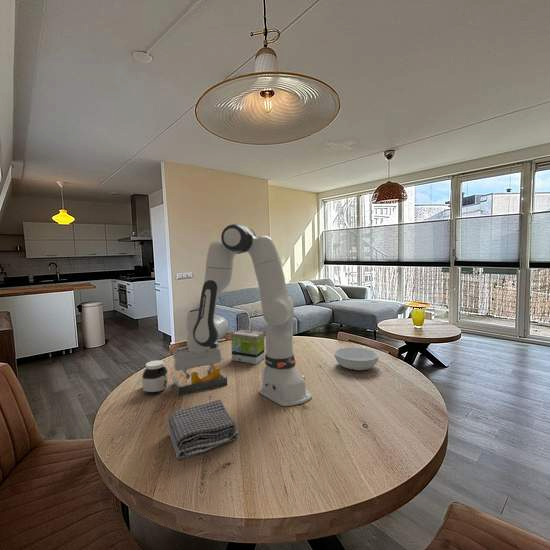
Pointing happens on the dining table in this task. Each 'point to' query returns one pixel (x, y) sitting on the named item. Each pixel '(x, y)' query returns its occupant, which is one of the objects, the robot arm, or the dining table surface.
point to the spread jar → (154, 377)
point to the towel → (200, 428)
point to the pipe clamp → (212, 376)
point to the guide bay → (200, 385)
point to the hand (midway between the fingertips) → (198, 376)
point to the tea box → (247, 346)
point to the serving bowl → (356, 358)
